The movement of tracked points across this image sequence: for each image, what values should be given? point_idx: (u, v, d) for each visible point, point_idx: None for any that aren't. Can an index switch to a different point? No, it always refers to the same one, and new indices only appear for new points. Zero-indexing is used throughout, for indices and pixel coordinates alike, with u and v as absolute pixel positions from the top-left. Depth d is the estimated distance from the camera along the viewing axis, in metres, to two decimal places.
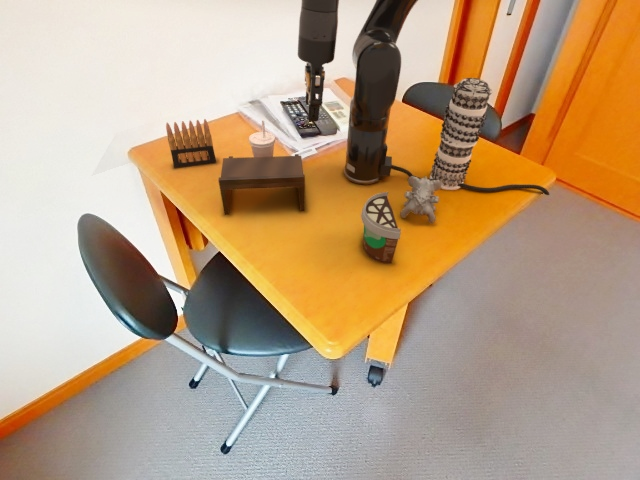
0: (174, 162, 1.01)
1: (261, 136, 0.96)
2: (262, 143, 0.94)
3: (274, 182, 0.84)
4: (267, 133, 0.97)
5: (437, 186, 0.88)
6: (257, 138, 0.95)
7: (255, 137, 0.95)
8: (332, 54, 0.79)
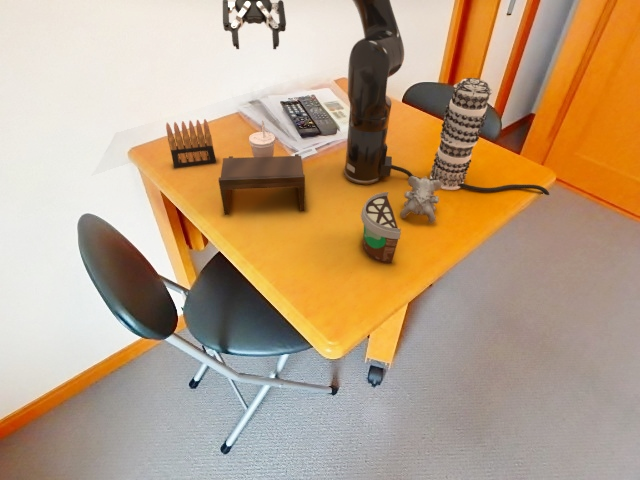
0: (174, 162, 1.01)
1: (261, 136, 0.96)
2: (262, 143, 0.94)
3: (274, 182, 0.84)
4: (267, 133, 0.97)
5: (437, 186, 0.88)
6: (257, 138, 0.95)
7: (255, 137, 0.95)
8: None
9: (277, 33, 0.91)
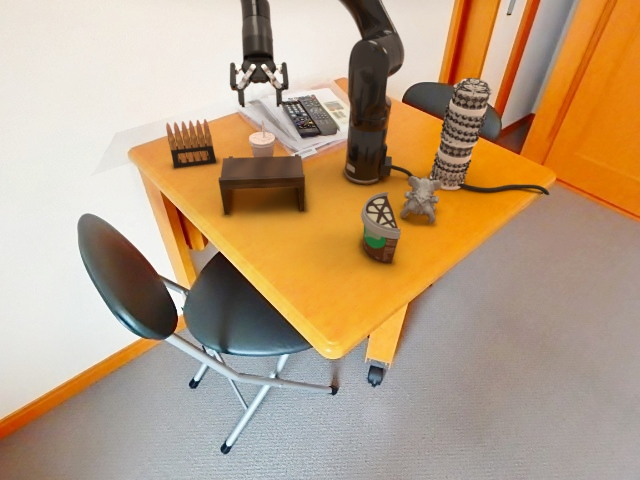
0: (174, 162, 1.01)
1: (261, 136, 0.96)
2: (262, 143, 0.94)
3: (274, 182, 0.84)
4: (267, 133, 0.97)
5: (437, 186, 0.88)
6: (257, 138, 0.95)
7: (255, 137, 0.95)
8: (248, 47, 0.95)
9: (280, 92, 0.97)
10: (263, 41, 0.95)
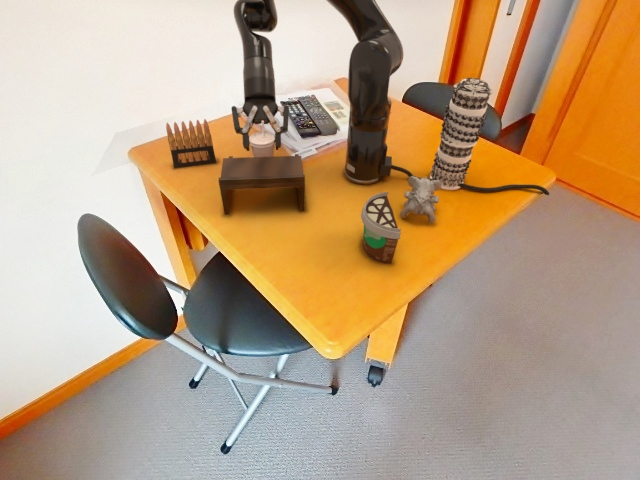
0: (174, 162, 1.01)
1: (261, 136, 0.96)
2: (261, 143, 0.94)
3: (274, 182, 0.84)
4: (267, 133, 0.97)
5: (437, 186, 0.88)
6: (257, 138, 0.95)
7: (255, 137, 0.95)
8: (249, 89, 0.93)
9: (279, 136, 0.96)
10: (265, 83, 0.93)
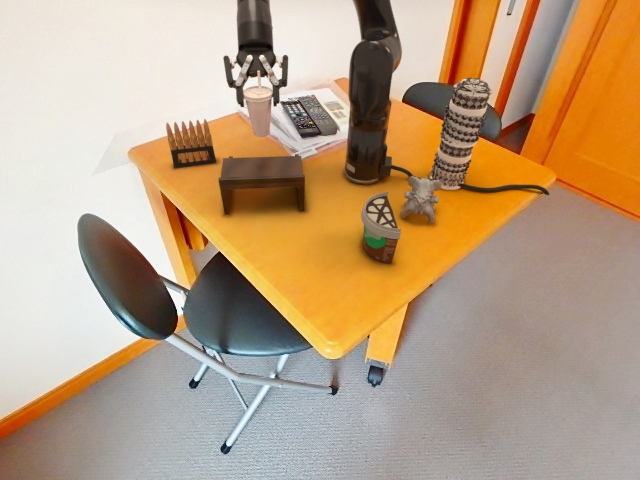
0: (174, 162, 1.01)
1: (257, 90, 0.85)
2: (257, 96, 0.83)
3: (274, 182, 0.84)
4: (264, 87, 0.86)
5: (437, 186, 0.88)
6: (252, 92, 0.84)
7: (250, 91, 0.84)
8: (243, 35, 0.82)
9: (277, 90, 0.85)
10: (261, 28, 0.82)
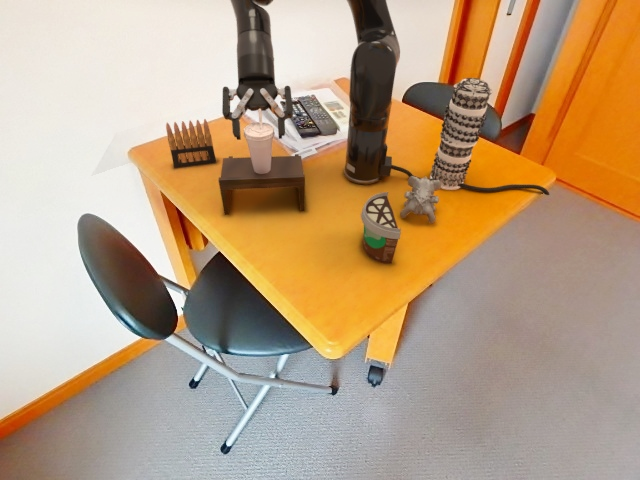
0: (174, 162, 1.01)
1: (258, 127, 0.82)
2: (258, 135, 0.80)
3: (274, 182, 0.84)
4: (265, 124, 0.83)
5: (437, 186, 0.88)
6: (253, 130, 0.81)
7: (251, 129, 0.82)
8: (244, 68, 0.79)
9: (283, 122, 0.81)
10: (262, 61, 0.79)
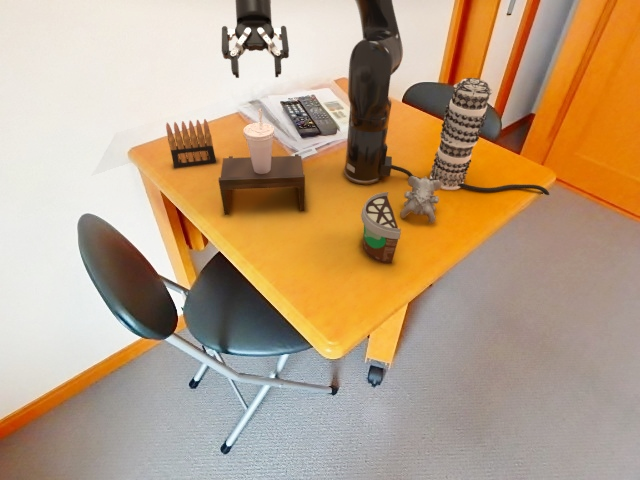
0: (174, 162, 1.01)
1: (258, 127, 0.82)
2: (258, 135, 0.80)
3: (274, 182, 0.84)
4: (265, 124, 0.83)
5: (437, 186, 0.88)
6: (253, 130, 0.81)
7: (251, 129, 0.82)
8: (242, 8, 0.83)
9: (279, 60, 0.86)
10: (259, 1, 0.83)
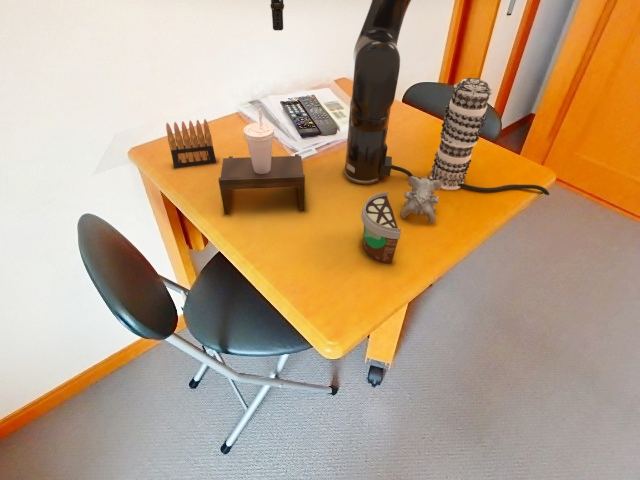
0: (174, 162, 1.01)
1: (258, 127, 0.82)
2: (258, 135, 0.80)
3: (274, 182, 0.84)
4: (265, 124, 0.83)
5: (437, 186, 0.88)
6: (253, 130, 0.81)
7: (251, 129, 0.82)
8: None
9: None
10: None
